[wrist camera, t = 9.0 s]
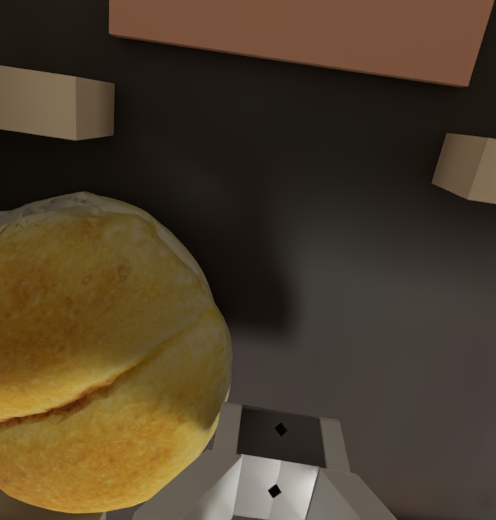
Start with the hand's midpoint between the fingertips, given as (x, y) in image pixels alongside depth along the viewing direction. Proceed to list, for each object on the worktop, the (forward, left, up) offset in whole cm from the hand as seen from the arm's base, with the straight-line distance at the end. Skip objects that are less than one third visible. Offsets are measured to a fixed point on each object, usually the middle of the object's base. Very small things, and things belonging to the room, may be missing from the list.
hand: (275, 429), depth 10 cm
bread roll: (+6, 0, -2) cm, 6 cm away
